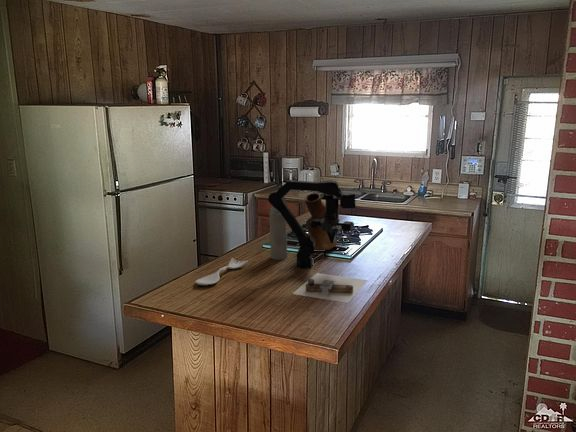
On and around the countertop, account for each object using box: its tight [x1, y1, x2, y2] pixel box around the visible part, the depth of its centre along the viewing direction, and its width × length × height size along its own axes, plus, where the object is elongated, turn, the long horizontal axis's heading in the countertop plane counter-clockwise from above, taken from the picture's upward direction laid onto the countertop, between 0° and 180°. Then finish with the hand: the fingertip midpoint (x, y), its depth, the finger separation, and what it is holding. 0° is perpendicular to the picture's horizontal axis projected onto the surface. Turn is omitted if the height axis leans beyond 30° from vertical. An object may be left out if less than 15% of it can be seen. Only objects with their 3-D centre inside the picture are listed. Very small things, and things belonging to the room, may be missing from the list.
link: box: [306, 283, 353, 293], centre depth 192 cm, size 19×4×2 cm, turn 80°
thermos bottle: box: [268, 205, 288, 261], centre depth 235 cm, size 8×8×28 cm
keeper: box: [320, 280, 335, 296], centre depth 191 cm, size 5×8×4 cm
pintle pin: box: [307, 278, 314, 285], centre depth 193 cm, size 2×2×2 cm
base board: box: [292, 272, 369, 304], centre depth 197 cm, size 23×25×1 cm
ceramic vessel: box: [304, 193, 339, 250], centre depth 244 cm, size 16×22×30 cm
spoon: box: [194, 257, 249, 286], centre depth 215 cm, size 9×32×4 cm, turn 153°
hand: (332, 243), depth 217 cm, fingers closed
